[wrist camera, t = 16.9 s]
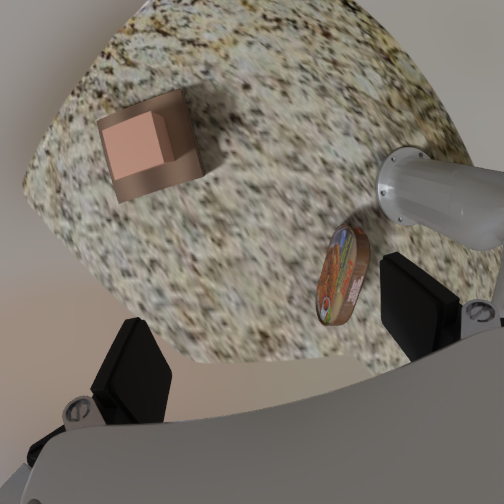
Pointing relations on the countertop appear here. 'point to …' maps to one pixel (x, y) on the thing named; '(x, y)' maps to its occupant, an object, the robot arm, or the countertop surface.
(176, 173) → the base
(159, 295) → the countertop surface
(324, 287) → the tin
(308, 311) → the countertop surface
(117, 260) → the countertop surface
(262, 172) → the countertop surface
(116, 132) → the cube
